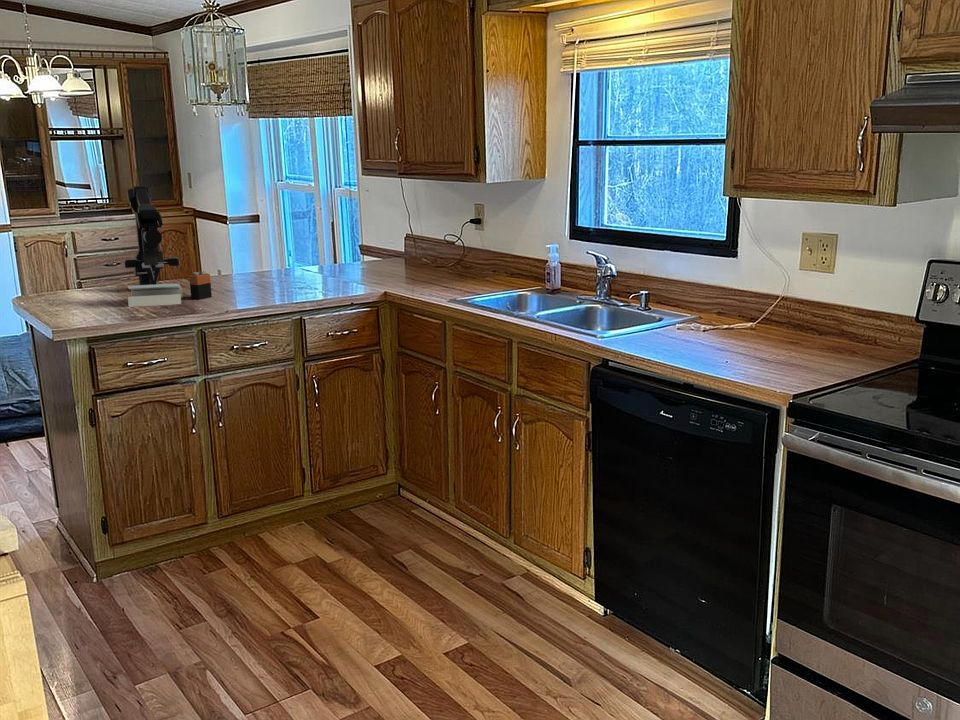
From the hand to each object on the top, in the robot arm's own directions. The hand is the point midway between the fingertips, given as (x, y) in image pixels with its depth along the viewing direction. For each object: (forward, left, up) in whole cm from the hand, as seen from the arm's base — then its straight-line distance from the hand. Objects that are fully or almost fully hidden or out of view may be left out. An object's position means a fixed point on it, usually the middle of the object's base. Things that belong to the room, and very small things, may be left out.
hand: (154, 285), depth 319 cm
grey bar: (+1, 0, -6) cm, 6 cm away
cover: (0, 0, -1) cm, 1 cm away
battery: (-3, +16, -6) cm, 18 cm away
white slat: (0, 0, -6) cm, 6 cm away
